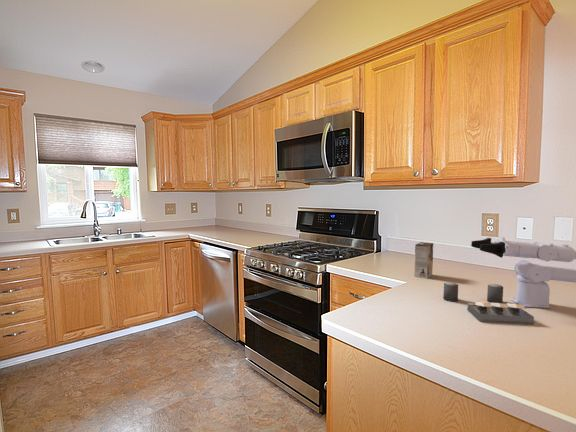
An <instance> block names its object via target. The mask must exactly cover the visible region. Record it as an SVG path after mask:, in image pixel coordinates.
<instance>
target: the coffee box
mask: <svg viewBox="0 0 576 432" xmlns="http://www.w3.org/2000/svg"><path fill="white" fill-rule="evenodd" d="M434 244H435V243H434V242H424V241H420V242H418V243H416V244H415V245H414V246H415V248H414V277H415V278H421V279H429V278H430V277H431V276H432V275H433V269H434V268H433V267H434V266H433V263H434V262H433V260H434Z"/></svg>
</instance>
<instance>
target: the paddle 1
mask: <svg viewBox="0 0 576 432" xmlns="http://www.w3.org/2000/svg"><path fill="white" fill-rule="evenodd" d="M475 304H476V305H479V306H483V307H491V303H490V302H483V301H476V302H475Z"/></svg>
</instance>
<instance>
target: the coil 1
mask: <svg viewBox="0 0 576 432" xmlns="http://www.w3.org/2000/svg"><path fill="white" fill-rule="evenodd" d="M442 296H443V297H442V298H443V301H447V302H451V303H455V302H458V301H459V284H458V283H456V282H451V281H446V282H443V295H442Z"/></svg>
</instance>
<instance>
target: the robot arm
mask: <svg viewBox="0 0 576 432" xmlns="http://www.w3.org/2000/svg"><path fill="white" fill-rule="evenodd" d="M470 247H472V248H475V249H479V251H481V252H485V253H488V254H492V255H495V256H497V257H499V258H501V259H502V258H503V257H511V258H512V257H514V258H524V259H538V260H541V261H545V262H551V261H554V262H560V263H561V262H563V263H571V262H573V261H574V260H576V250H575V249H574V248H573V247H572V246H569V244H561V245H555V244H553V243H548V244H544V243H540V242H537V241H535V242H533V243H531V242H523V241H512V240H506V238H505V237H503V236H502V237H501V236H500V238H499V240H496V241H495V240H494V241H492V238H491V237H487V238H485V239H480V240H479V239H478V240H471V244H470ZM514 272H515V274H516V276H517V277H516V278H517V279H516V292H515V293H516V296H515V298H514V297H513V298H510V300H511V301H512V302H514V303H515V304H522V305H524V307H525V308H526V307H527V308H545V309H546V308H547V309H550V308H551V307H550V306H549V305H550V292H551V291H550V286H549V284H548V283H547V282H549V281H555V282H557V281H558V282H565V283H566V282H568V283H576V268H566V267H558V266H548V265H547V266H546V265H541V264H537V263H532V262H530V261H529V260H519V261H517V262H516V263H515V265H514Z"/></svg>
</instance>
